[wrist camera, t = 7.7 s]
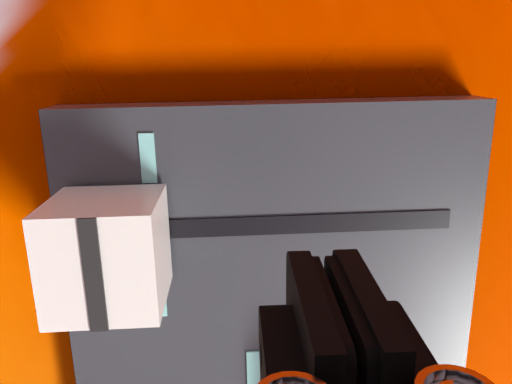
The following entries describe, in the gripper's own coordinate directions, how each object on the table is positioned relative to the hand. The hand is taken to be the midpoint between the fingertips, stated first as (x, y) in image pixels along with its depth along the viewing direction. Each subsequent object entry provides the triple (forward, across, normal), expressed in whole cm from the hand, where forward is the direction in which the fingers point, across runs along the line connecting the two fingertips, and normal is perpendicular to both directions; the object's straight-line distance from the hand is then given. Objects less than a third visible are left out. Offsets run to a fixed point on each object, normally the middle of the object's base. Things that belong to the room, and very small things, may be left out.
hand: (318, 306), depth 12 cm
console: (+10, 0, +6) cm, 12 cm away
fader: (+8, +7, +1) cm, 11 cm away
